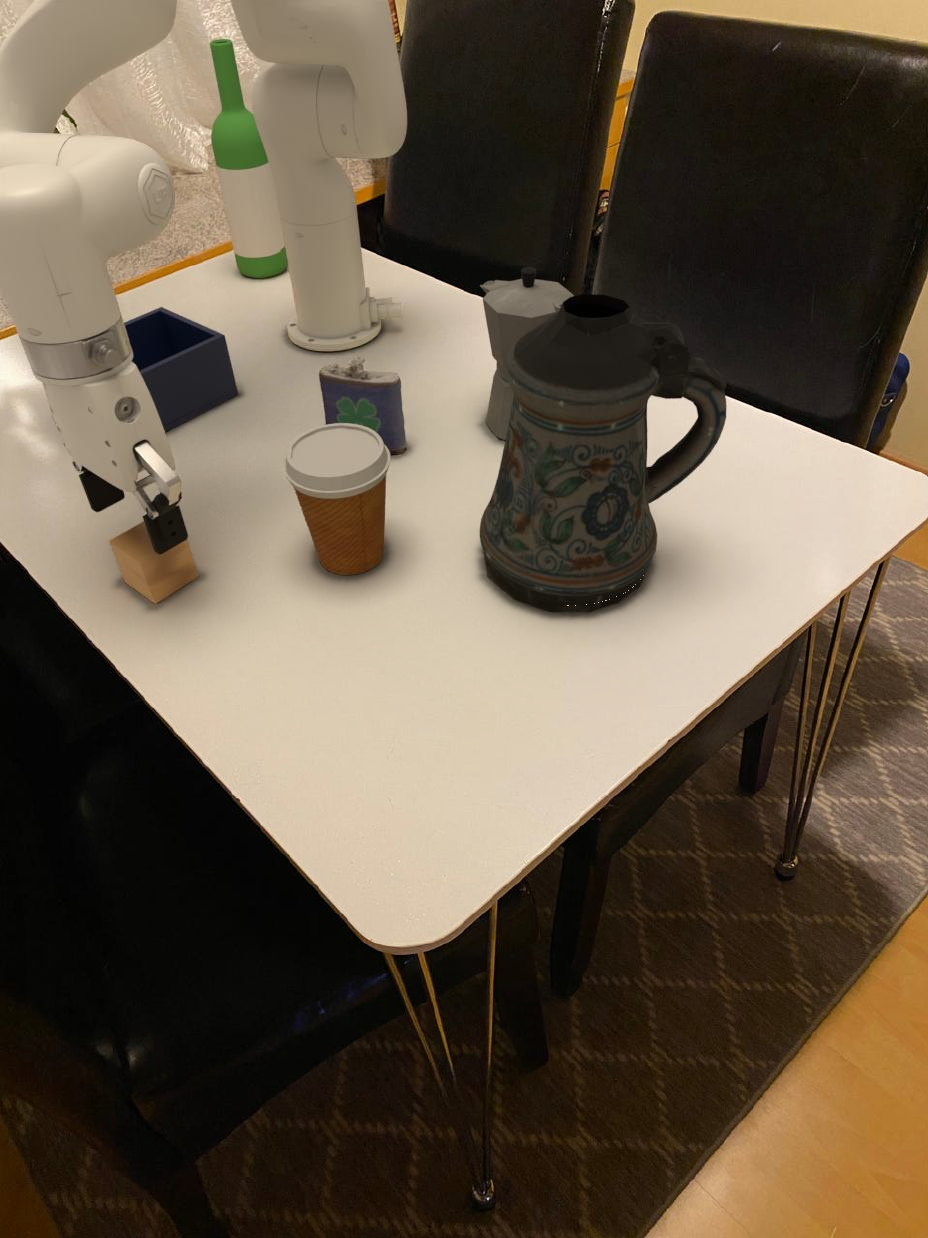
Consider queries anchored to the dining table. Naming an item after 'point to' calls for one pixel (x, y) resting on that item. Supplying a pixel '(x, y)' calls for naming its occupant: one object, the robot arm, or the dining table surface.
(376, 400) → the flask
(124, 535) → the block
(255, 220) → the wine bottle
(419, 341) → the dining table surface
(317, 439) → the disposable coffee cup
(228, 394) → the chest
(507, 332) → the coffeepot
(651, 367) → the beer stein
